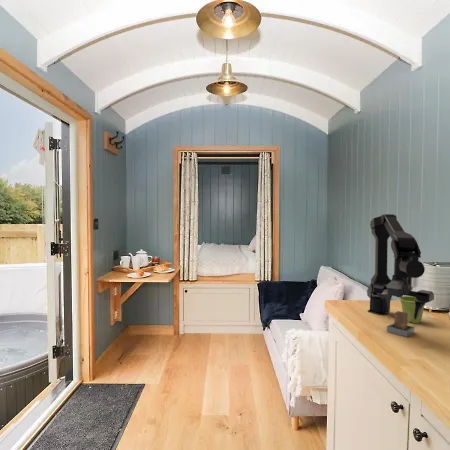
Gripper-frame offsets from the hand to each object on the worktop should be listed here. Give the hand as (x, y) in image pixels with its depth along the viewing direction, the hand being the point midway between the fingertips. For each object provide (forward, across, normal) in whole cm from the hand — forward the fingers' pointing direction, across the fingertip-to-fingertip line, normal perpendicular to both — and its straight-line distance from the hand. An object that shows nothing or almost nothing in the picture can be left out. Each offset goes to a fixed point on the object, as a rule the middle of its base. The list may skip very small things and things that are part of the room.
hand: (401, 316), depth 126 cm
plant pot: (+6, -2, +17) cm, 18 cm away
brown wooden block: (+6, 0, 0) cm, 6 cm away
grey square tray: (+6, 0, 0) cm, 6 cm away
